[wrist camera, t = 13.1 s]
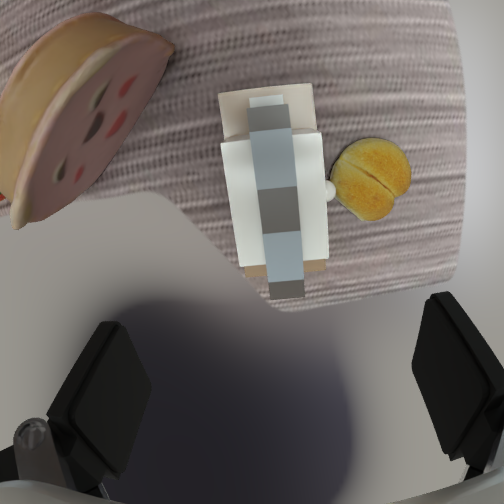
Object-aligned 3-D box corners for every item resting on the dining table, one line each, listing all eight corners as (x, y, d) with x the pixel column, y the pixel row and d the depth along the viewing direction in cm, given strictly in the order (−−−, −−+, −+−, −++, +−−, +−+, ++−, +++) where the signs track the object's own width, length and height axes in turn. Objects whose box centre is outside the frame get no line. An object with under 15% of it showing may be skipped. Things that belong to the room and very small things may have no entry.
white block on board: (220, 94, 30) (206, 90, 23) (316, 84, 29) (331, 77, 22) (246, 269, 38) (241, 308, 31) (329, 261, 37) (342, 298, 30)
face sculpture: (96, 198, 35) (9, 260, 20) (58, 168, 34) (-38, 213, 19) (191, 54, 28) (125, 15, 13) (144, 25, 27) (56, -18, 12)
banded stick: (250, 108, 27) (246, 108, 21) (284, 104, 27) (288, 103, 21) (270, 267, 34) (270, 300, 28) (299, 265, 33) (304, 297, 28)
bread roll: (417, 168, 32) (432, 175, 29) (368, 226, 35) (379, 240, 32) (365, 119, 30) (377, 121, 27) (314, 182, 34) (320, 192, 30)
